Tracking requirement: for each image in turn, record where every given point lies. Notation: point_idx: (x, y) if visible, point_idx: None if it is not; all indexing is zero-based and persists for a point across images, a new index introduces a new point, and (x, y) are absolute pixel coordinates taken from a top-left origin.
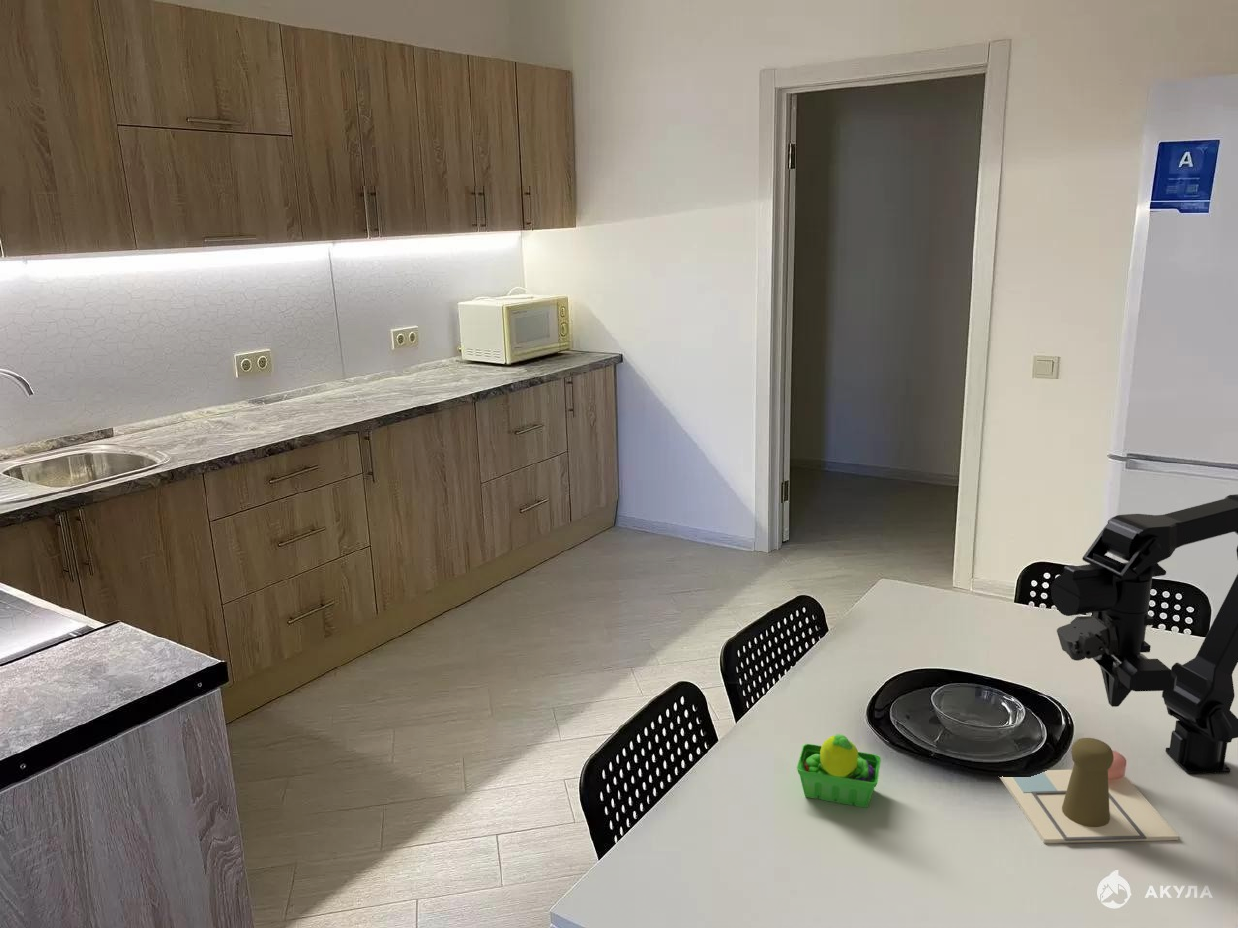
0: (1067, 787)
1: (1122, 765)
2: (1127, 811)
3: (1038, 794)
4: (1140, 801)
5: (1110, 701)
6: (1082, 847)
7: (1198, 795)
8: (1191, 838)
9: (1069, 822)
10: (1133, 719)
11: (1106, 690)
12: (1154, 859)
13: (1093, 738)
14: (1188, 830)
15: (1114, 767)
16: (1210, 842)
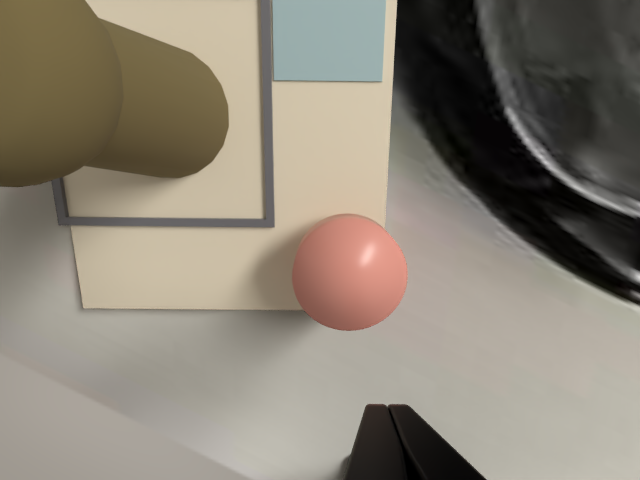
0: (155, 39)
1: (300, 301)
2: (180, 236)
3: (261, 7)
4: (227, 291)
5: (378, 421)
6: None
7: (269, 431)
8: (100, 334)
9: None
10: (607, 456)
11: (461, 472)
12: (4, 209)
13: (12, 96)
14: (131, 343)
15: (292, 272)
16: (89, 365)
